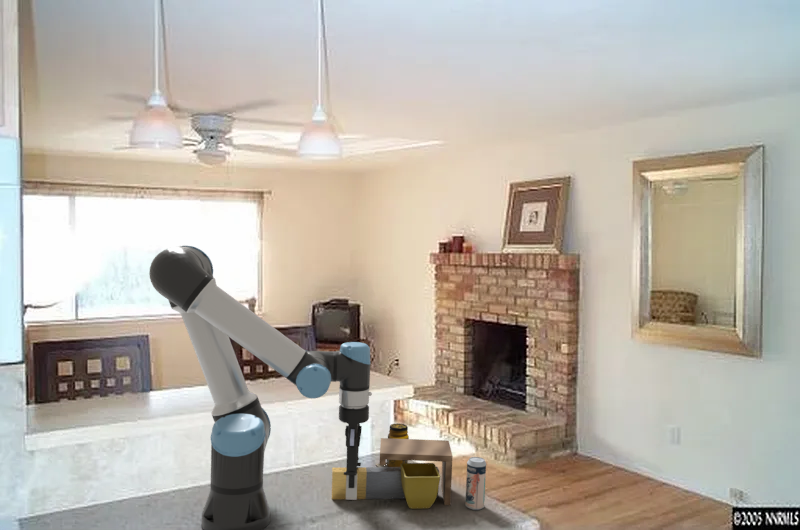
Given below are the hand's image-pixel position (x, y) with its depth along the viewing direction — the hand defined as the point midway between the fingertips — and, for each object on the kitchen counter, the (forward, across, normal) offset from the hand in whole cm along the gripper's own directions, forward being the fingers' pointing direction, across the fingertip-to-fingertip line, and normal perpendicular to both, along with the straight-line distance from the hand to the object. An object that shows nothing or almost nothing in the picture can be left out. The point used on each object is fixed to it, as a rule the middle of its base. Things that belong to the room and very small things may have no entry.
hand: (351, 495), depth 169 cm
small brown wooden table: (0, +3, -16) cm, 16 cm away
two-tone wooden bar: (0, +1, -8) cm, 8 cm away
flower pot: (+1, -4, -17) cm, 17 cm away
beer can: (+1, -4, -31) cm, 31 cm away
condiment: (+1, +22, -11) cm, 25 cm away
